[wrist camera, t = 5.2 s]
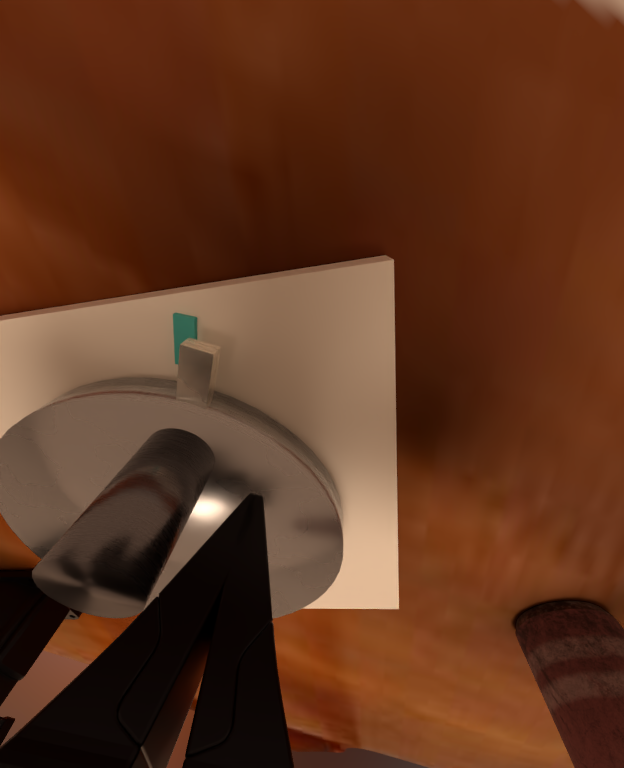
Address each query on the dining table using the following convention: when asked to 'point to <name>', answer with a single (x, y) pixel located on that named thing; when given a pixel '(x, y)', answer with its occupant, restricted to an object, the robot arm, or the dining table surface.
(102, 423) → the dial
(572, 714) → the can
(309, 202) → the dining table surface
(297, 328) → the board
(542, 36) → the dining table surface
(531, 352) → the dining table surface
